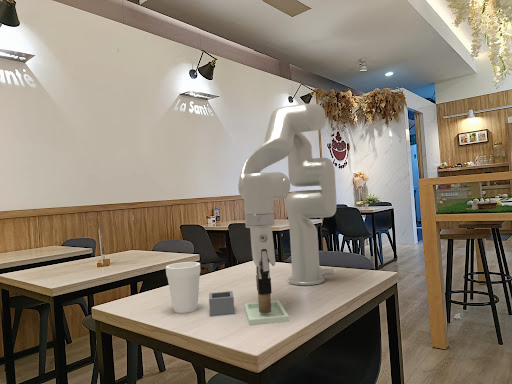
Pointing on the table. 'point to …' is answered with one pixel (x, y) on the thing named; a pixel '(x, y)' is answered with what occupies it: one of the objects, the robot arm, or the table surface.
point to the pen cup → (221, 303)
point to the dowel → (264, 301)
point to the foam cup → (184, 285)
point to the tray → (266, 314)
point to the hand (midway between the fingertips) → (264, 291)
